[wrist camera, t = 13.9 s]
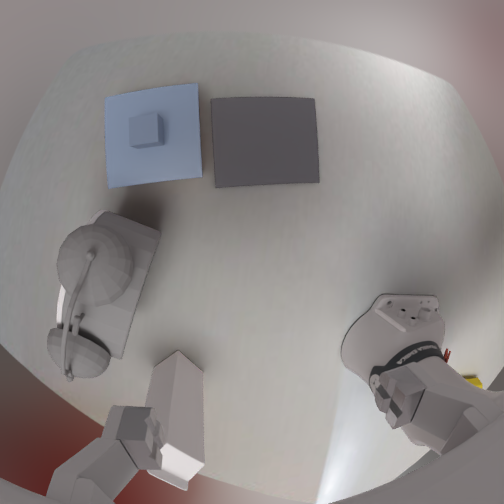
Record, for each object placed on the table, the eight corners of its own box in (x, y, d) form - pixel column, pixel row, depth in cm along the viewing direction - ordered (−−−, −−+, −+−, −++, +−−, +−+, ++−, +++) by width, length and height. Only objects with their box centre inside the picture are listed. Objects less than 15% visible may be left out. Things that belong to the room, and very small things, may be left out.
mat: (313, 99, 35) (314, 98, 35) (317, 182, 38) (319, 182, 38) (210, 99, 34) (210, 98, 33) (215, 187, 37) (215, 187, 36)
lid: (198, 86, 28) (196, 72, 24) (202, 177, 31) (201, 177, 27) (108, 100, 27) (94, 90, 23) (111, 188, 30) (96, 190, 26)
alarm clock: (120, 196, 35) (26, 224, 14) (178, 219, 37) (136, 275, 16) (91, 299, 38) (21, 390, 17) (141, 320, 40) (100, 430, 19)
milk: (178, 349, 42) (164, 464, 21) (204, 372, 44) (207, 484, 23) (153, 367, 43) (130, 477, 21) (178, 388, 44) (171, 496, 23)
